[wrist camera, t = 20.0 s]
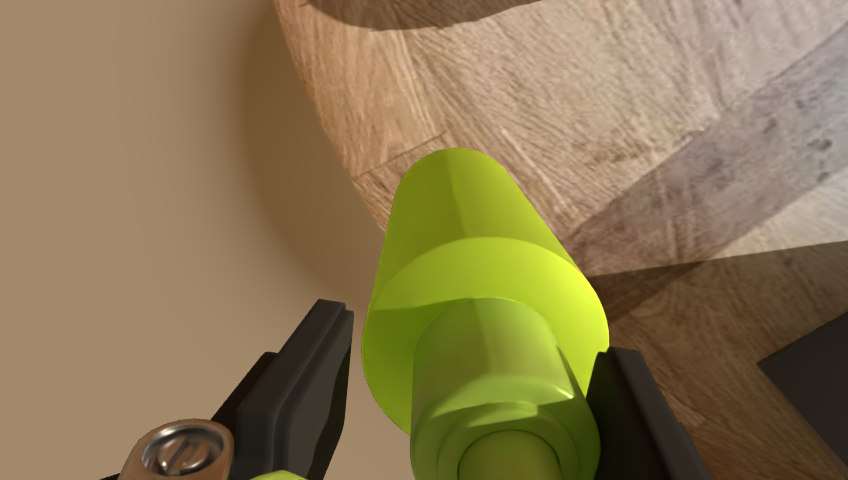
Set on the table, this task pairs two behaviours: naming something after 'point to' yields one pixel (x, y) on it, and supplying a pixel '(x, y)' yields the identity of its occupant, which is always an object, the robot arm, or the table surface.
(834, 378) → the carton
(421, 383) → the soap dispenser
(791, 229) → the table surface
